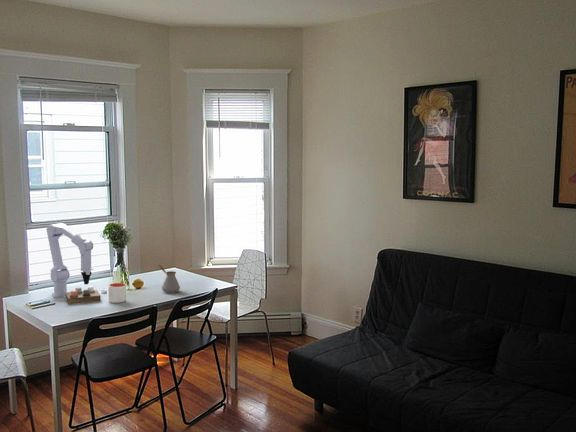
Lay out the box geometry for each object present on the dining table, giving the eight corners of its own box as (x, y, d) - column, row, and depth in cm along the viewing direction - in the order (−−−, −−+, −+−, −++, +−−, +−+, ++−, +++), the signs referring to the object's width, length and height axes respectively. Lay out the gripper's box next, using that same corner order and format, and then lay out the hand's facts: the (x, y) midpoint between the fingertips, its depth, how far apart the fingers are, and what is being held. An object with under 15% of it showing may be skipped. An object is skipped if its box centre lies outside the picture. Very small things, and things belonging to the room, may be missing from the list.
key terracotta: (70, 296, 326) (70, 290, 326) (76, 296, 328) (76, 290, 327) (71, 298, 323) (71, 292, 323) (77, 297, 325) (77, 291, 324)
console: (65, 298, 333) (65, 292, 333) (96, 295, 342) (96, 289, 341) (68, 304, 321) (68, 298, 321) (100, 301, 329) (100, 295, 329)
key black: (83, 295, 329) (82, 289, 329) (89, 295, 331) (88, 289, 330) (83, 297, 326) (83, 291, 326) (89, 296, 328) (89, 290, 328)
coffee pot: (183, 292, 355) (183, 269, 353) (167, 295, 347) (167, 271, 345) (166, 285, 371) (166, 263, 369) (150, 288, 363) (151, 265, 361)
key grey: (75, 293, 334) (75, 287, 333) (81, 292, 335) (81, 286, 335) (75, 294, 331) (75, 288, 330) (81, 294, 332) (81, 288, 332)
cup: (107, 303, 325) (107, 287, 324) (109, 299, 335) (109, 283, 333) (125, 303, 327) (125, 286, 326) (126, 298, 337) (126, 282, 335)
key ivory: (87, 292, 337) (87, 286, 337) (93, 291, 339) (93, 285, 338) (88, 293, 334) (88, 287, 334) (94, 293, 336) (94, 287, 335)
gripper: (95, 263, 322) (95, 286, 323) (91, 258, 334) (91, 280, 336) (82, 264, 318) (82, 287, 320) (78, 259, 331) (79, 281, 333)
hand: (86, 284), depth 328 cm, fingers closed
